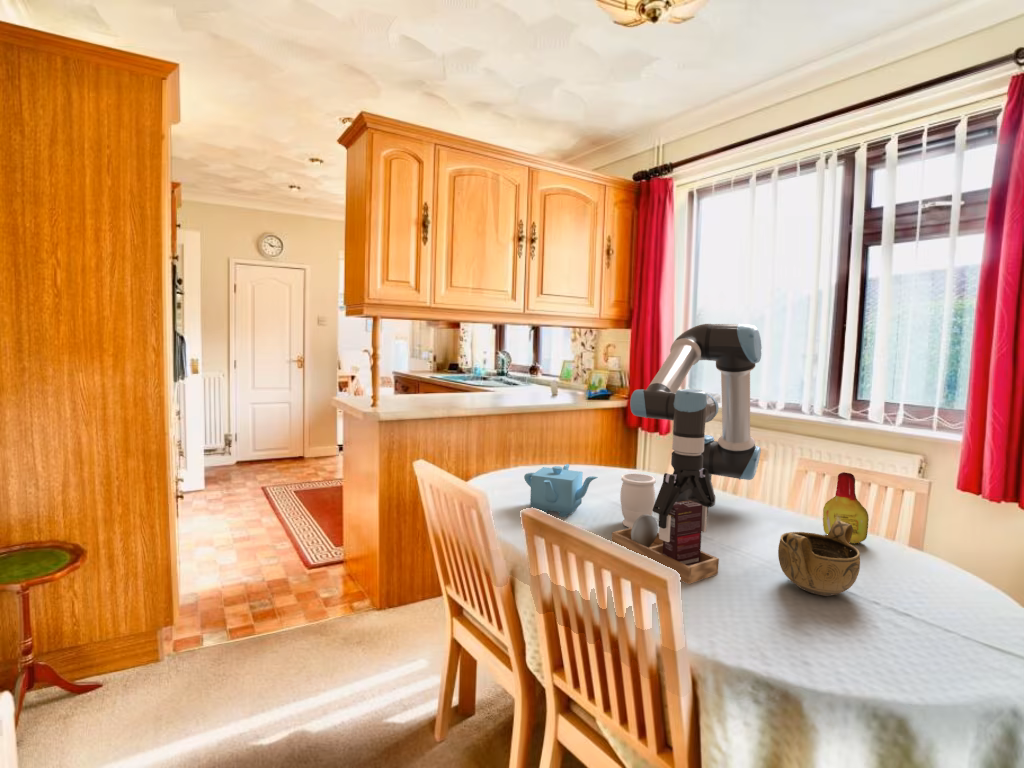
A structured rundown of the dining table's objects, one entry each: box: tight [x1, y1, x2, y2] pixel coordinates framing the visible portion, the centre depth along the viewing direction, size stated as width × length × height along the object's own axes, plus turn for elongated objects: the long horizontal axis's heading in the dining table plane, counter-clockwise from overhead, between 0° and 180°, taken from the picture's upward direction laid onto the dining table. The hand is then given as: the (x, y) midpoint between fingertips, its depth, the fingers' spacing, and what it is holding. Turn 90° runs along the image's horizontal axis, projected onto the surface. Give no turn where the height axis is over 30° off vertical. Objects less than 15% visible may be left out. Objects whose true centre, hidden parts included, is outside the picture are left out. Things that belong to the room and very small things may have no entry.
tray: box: [611, 514, 720, 585], centre depth 145 cm, size 11×26×10 cm, turn 33°
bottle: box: [822, 471, 870, 544], centre depth 162 cm, size 12×6×20 cm, turn 32°
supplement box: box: [663, 500, 703, 566], centre depth 139 cm, size 9×5×16 cm, turn 114°
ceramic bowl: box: [777, 521, 861, 597], centre depth 130 cm, size 22×17×15 cm
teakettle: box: [524, 463, 598, 518], centre depth 182 cm, size 19×19×15 cm
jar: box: [619, 473, 656, 528], centre depth 170 cm, size 11×10×15 cm
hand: (682, 535), depth 140 cm, fingers open, 13 cm apart
